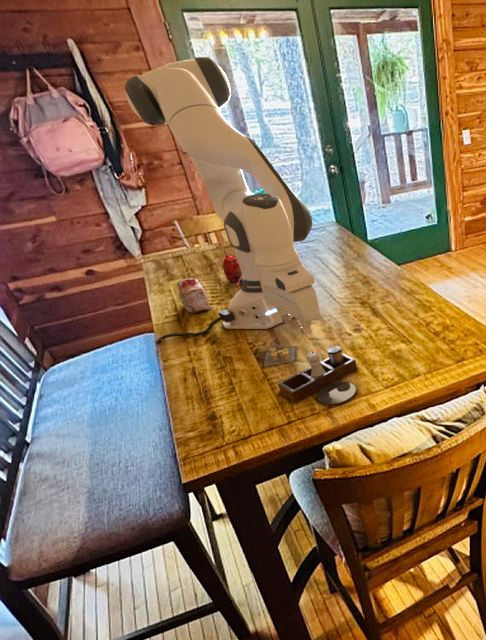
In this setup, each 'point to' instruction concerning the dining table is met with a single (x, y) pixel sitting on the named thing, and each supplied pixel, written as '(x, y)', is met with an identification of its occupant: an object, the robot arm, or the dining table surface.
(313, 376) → the rook chess piece
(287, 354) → the dice set
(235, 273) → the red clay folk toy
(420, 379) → the dining table surface
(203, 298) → the food item
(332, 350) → the spice tin
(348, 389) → the coaster
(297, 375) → the spice rack
